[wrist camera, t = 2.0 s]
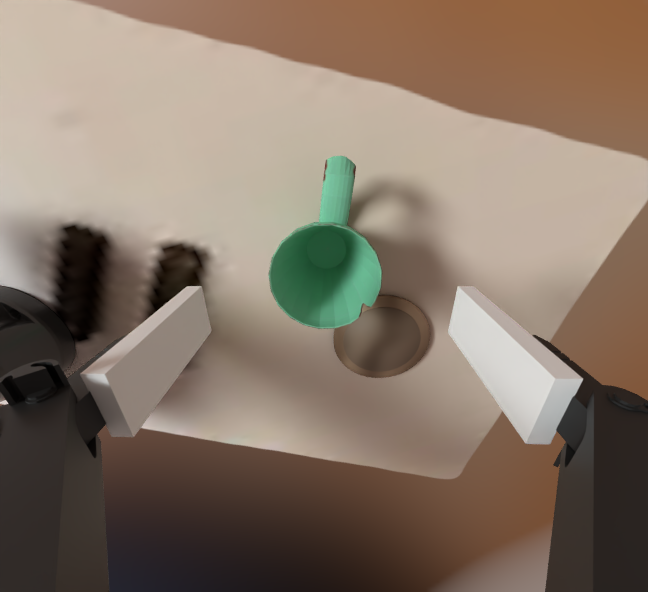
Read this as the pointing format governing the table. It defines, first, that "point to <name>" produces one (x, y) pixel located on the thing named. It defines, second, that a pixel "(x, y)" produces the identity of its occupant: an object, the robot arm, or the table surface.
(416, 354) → the plate
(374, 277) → the mug
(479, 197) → the table surface
